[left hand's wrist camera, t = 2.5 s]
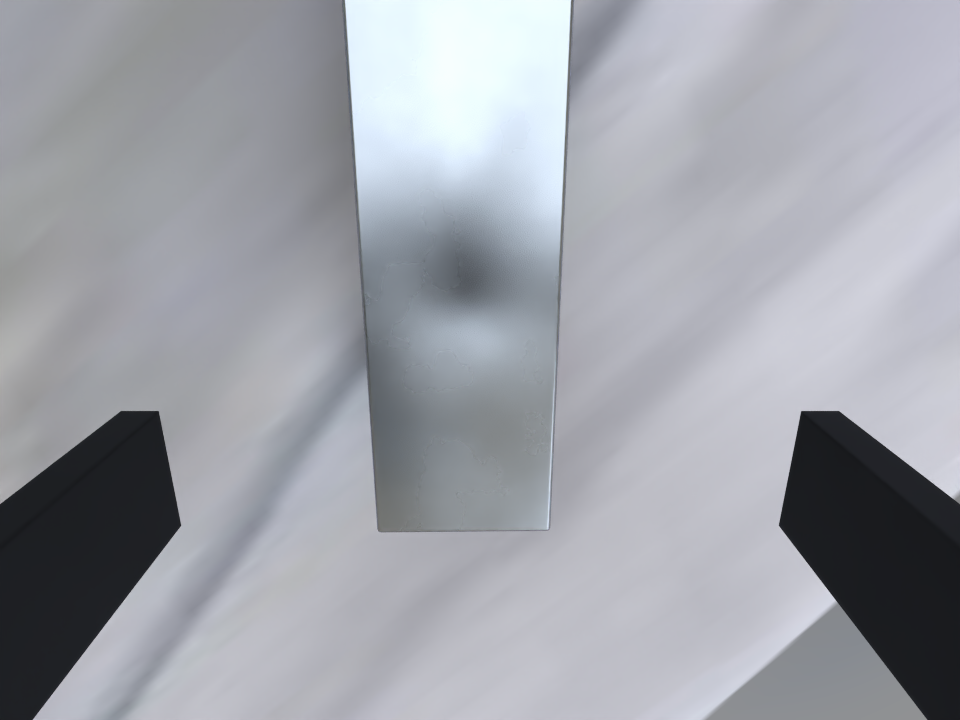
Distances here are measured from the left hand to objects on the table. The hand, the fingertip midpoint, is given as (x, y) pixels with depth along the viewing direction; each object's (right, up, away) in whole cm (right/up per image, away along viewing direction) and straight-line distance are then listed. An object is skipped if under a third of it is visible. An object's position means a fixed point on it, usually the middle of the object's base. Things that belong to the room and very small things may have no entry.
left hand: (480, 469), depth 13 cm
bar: (-1, +17, +6) cm, 18 cm away
